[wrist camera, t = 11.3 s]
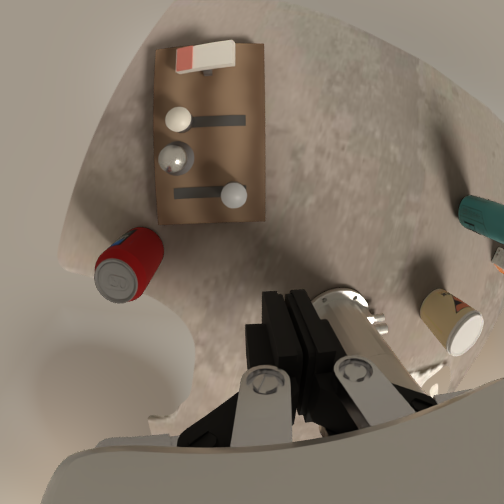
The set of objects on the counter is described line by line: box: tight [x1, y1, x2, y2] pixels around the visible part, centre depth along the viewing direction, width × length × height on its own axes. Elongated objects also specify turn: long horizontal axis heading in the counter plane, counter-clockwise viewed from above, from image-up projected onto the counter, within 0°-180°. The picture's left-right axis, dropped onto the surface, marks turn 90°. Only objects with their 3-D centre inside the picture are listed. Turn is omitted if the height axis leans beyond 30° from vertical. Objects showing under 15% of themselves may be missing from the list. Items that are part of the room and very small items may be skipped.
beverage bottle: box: [458, 195, 504, 244], centre depth 32 cm, size 6×7×20 cm
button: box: [158, 145, 188, 173], centre depth 31 cm, size 3×3×2 cm
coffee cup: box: [420, 289, 483, 356], centre depth 42 cm, size 9×9×12 cm
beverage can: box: [94, 227, 164, 303], centre depth 34 cm, size 7×7×12 cm
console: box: [153, 43, 265, 225], centre depth 33 cm, size 14×24×5 cm, turn 0°
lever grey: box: [221, 181, 247, 208], centre depth 33 cm, size 3×3×4 cm
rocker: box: [176, 40, 235, 74], centre depth 26 cm, size 7×3×1 cm, turn 91°
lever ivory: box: [165, 107, 194, 133], centre depth 29 cm, size 3×3×4 cm
